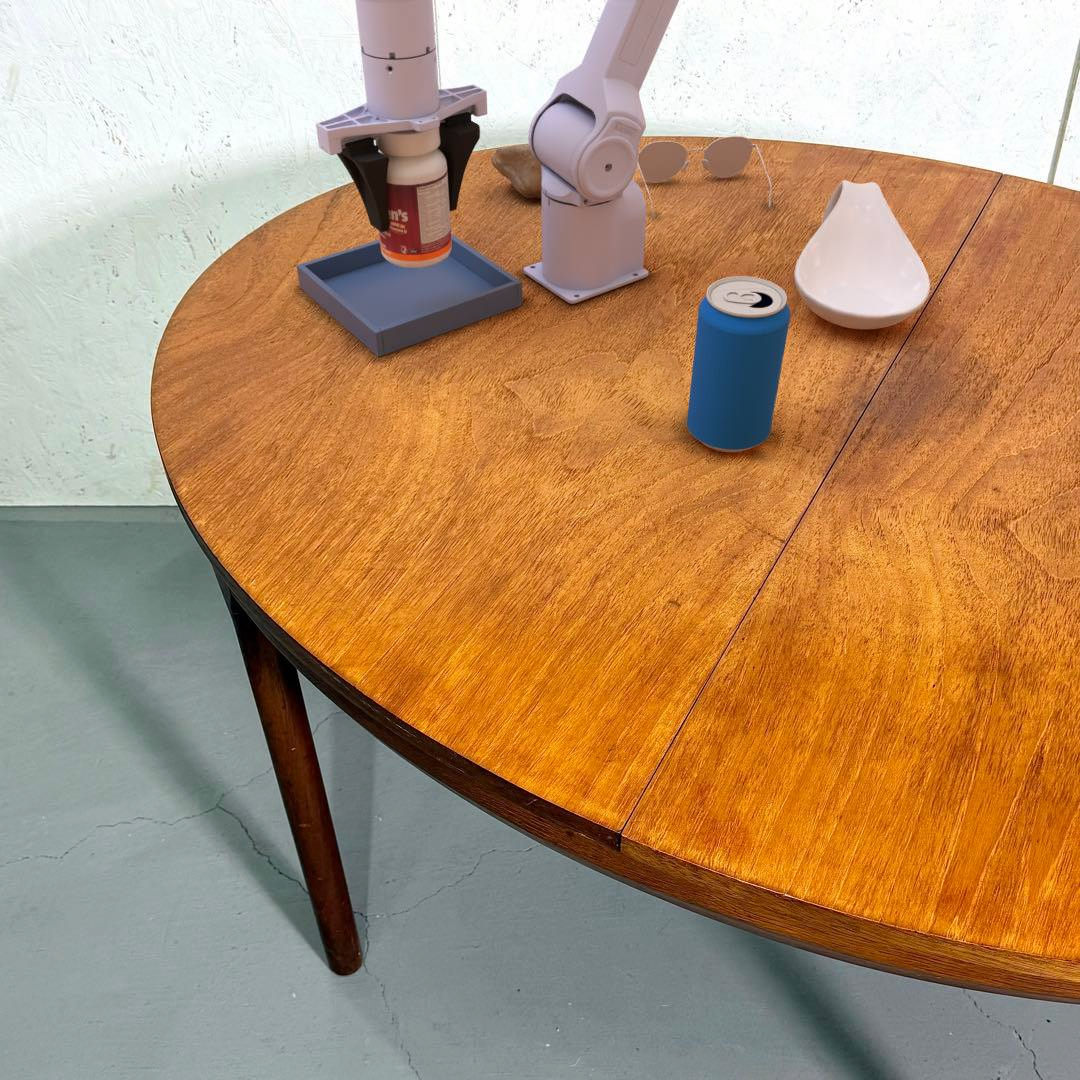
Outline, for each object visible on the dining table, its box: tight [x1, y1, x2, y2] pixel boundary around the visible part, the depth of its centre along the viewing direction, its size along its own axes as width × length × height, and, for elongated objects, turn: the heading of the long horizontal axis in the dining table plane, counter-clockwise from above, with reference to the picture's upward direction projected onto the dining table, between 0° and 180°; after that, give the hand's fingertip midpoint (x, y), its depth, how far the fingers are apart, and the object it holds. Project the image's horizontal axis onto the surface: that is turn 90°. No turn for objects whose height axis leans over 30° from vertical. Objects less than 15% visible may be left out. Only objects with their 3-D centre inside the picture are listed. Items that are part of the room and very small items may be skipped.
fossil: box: [490, 143, 542, 200], centre depth 114 cm, size 9×4×10 cm
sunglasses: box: [637, 135, 773, 217], centre depth 114 cm, size 14×8×5 cm, turn 99°
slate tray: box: [295, 233, 524, 358], centre depth 99 cm, size 15×15×2 cm
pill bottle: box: [375, 127, 452, 268], centre depth 89 cm, size 6×6×11 cm
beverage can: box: [686, 275, 791, 453], centre depth 79 cm, size 6×6×12 cm
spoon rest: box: [793, 179, 931, 330], centre depth 98 cm, size 24×12×7 cm, turn 172°
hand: (413, 216), depth 90 cm, fingers closed on pill bottle, 6 cm apart
